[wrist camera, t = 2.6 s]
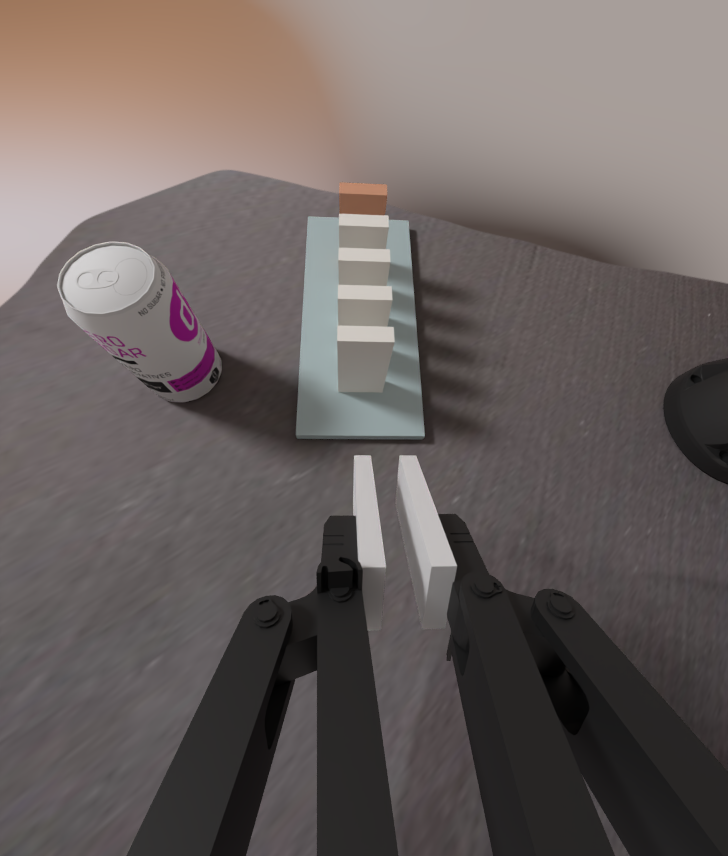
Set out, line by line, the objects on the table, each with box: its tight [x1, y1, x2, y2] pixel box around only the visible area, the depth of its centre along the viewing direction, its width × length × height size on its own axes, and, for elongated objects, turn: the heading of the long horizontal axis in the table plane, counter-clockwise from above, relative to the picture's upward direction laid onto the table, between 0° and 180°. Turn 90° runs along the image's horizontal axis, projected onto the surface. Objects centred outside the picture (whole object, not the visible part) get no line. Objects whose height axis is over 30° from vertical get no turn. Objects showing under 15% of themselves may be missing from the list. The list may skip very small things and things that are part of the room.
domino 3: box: [338, 248, 391, 286], centre depth 39 cm, size 2×5×10 cm, turn 91°
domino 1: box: [339, 183, 387, 215], centre depth 42 cm, size 2×5×10 cm, turn 90°
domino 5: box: [337, 325, 395, 393], centre depth 36 cm, size 2×5×10 cm, turn 91°
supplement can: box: [57, 242, 222, 402], centre depth 34 cm, size 8×8×15 cm
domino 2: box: [339, 214, 389, 249], centre depth 40 cm, size 2×5×10 cm, turn 91°
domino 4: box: [338, 285, 392, 327], centre depth 37 cm, size 2×5×10 cm, turn 91°
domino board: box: [296, 216, 425, 440], centre depth 44 cm, size 14×32×1 cm, turn 1°
